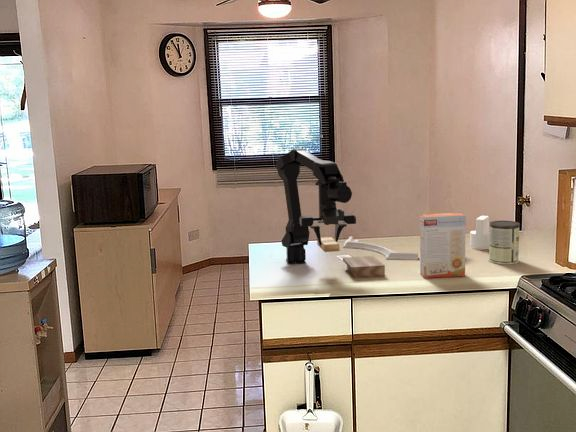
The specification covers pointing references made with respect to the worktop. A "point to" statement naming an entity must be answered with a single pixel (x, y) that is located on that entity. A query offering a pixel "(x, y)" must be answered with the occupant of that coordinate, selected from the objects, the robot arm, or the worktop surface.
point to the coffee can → (504, 242)
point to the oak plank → (328, 244)
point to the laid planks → (365, 266)
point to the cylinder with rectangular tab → (480, 234)
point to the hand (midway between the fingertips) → (328, 244)
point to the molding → (380, 250)
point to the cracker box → (442, 245)
